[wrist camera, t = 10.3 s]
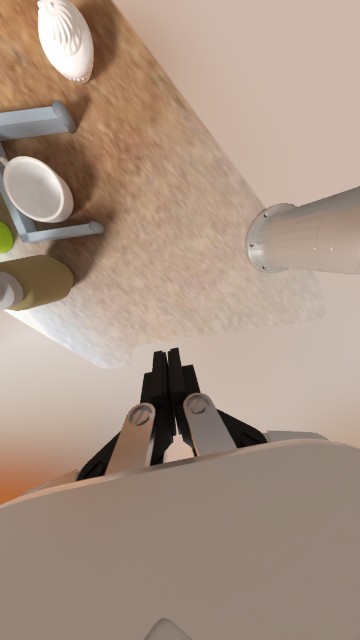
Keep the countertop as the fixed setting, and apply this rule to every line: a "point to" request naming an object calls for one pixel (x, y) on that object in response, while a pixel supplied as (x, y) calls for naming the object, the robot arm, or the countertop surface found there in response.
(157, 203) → the countertop surface
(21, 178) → the teacup
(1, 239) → the soap dispenser
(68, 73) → the muffin
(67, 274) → the squeeze bottle
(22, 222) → the bay
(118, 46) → the countertop surface
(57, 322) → the countertop surface
